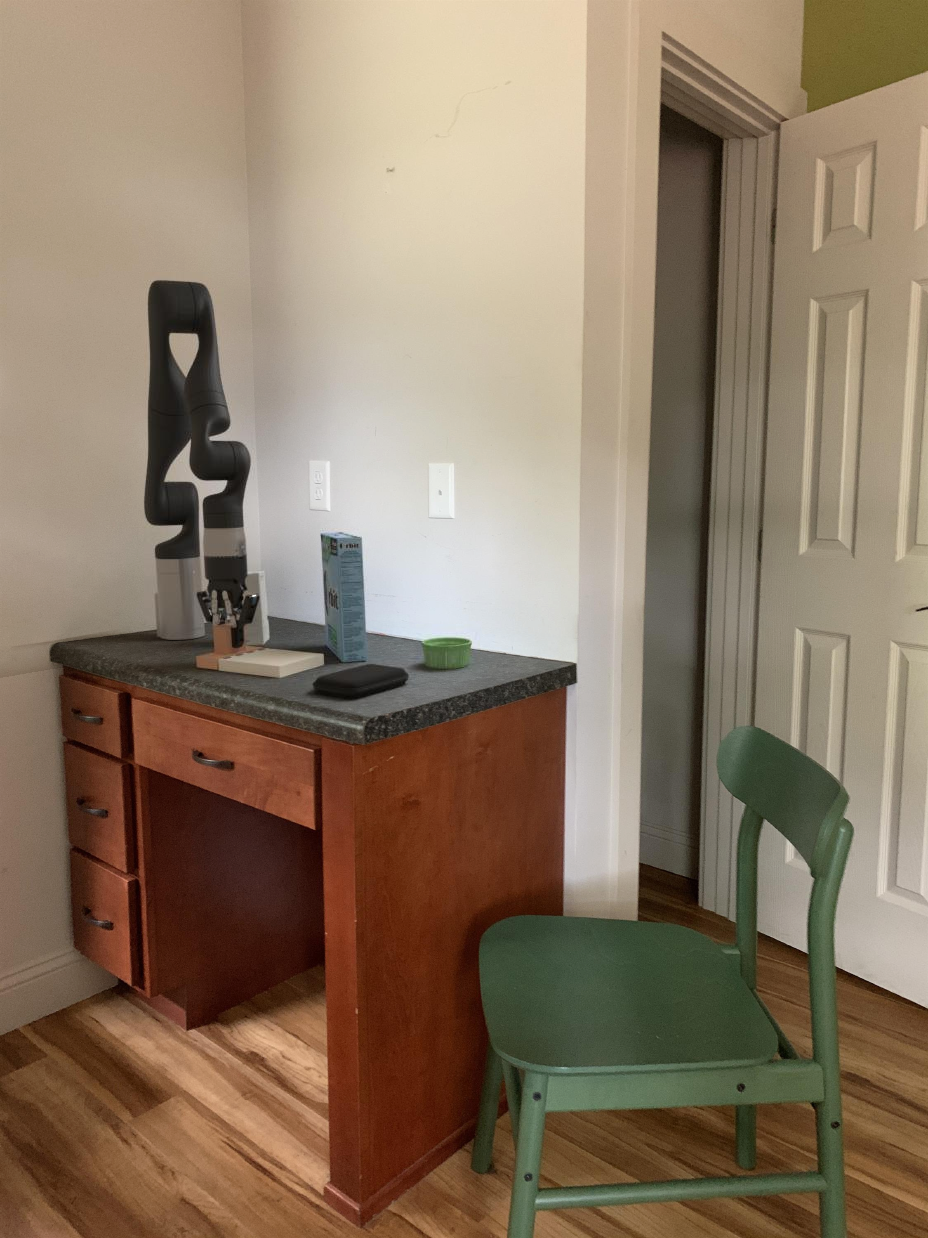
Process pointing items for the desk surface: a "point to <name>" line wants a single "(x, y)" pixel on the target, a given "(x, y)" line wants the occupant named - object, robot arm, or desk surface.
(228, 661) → the plate
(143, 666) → the desk surface
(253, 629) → the skincare box
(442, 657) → the ramekin
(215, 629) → the stub
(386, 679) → the carrying case or bag
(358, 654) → the gum box
